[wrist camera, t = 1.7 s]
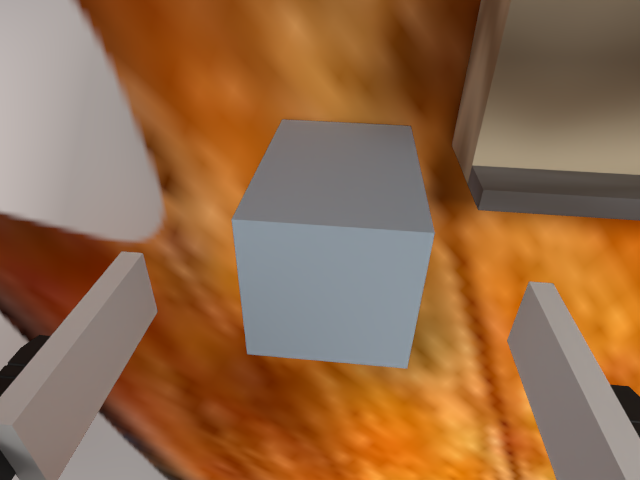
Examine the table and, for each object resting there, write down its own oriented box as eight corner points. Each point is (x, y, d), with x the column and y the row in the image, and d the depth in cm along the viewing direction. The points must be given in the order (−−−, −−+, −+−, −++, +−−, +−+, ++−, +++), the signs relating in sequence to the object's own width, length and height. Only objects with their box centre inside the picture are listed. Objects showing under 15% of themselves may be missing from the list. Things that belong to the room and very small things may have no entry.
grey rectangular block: (282, 119, 20) (231, 218, 13) (410, 126, 20) (434, 233, 12) (285, 226, 24) (247, 354, 16) (395, 234, 23) (407, 368, 16)
